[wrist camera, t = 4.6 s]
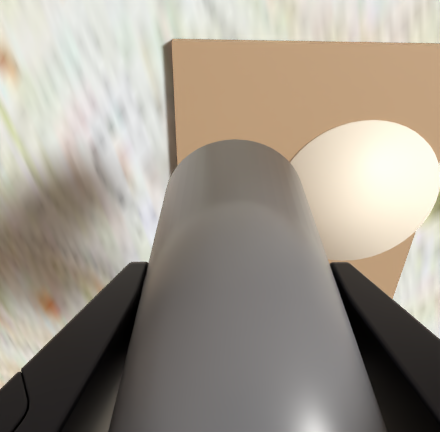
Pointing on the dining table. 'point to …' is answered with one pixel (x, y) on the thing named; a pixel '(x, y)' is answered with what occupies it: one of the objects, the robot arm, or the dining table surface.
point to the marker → (241, 310)
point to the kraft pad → (327, 131)
